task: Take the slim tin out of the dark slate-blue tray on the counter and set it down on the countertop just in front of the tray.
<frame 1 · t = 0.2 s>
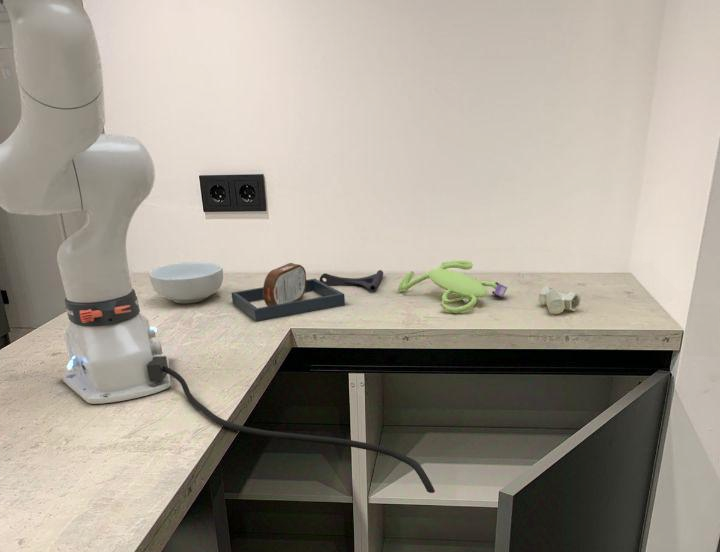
hand: (35, 76, 135), 48 cm above the counter, tool pointing down, fingers open, 8 cm apart
tray: (287, 304, 167), on the counter
tin: (287, 304, 167), resting in tray
cereal bowl: (190, 300, 175), on the counter
bracket: (350, 285, 180), on the counter
pipe fitting: (553, 310, 153), on the counter
figurine: (452, 296, 167), on the counter
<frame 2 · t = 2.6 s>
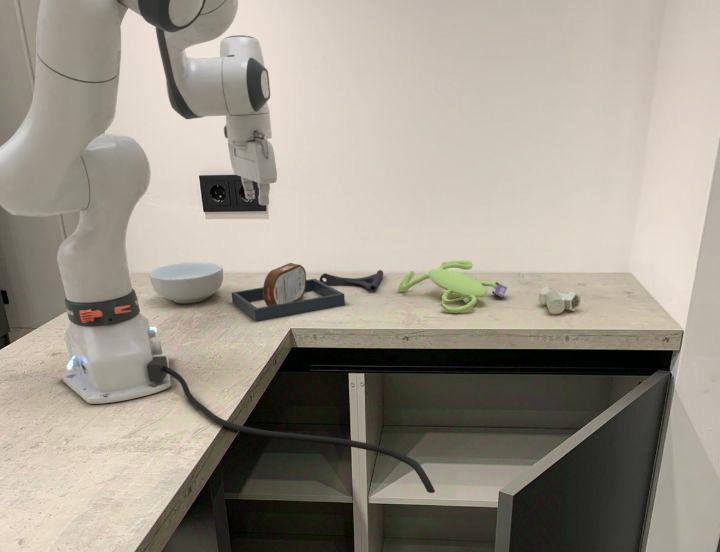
hand: (257, 202, 155), 22 cm above the counter, tool pointing down, fingers open, 8 cm apart
nothing on the counter moved.
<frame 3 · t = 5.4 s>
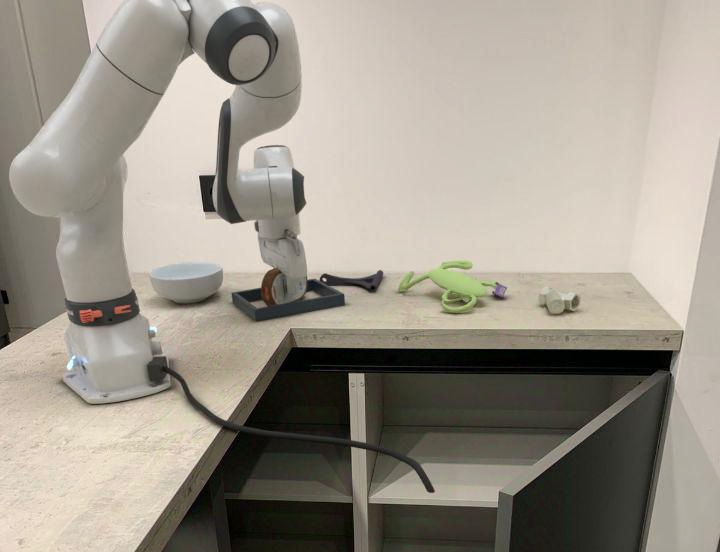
hand: (286, 290, 166), 3 cm above the counter, tool pointing down, fingers closed on tin, 4 cm apart
tin: (288, 304, 167), resting in tray, touching gripper
everything else where it was.
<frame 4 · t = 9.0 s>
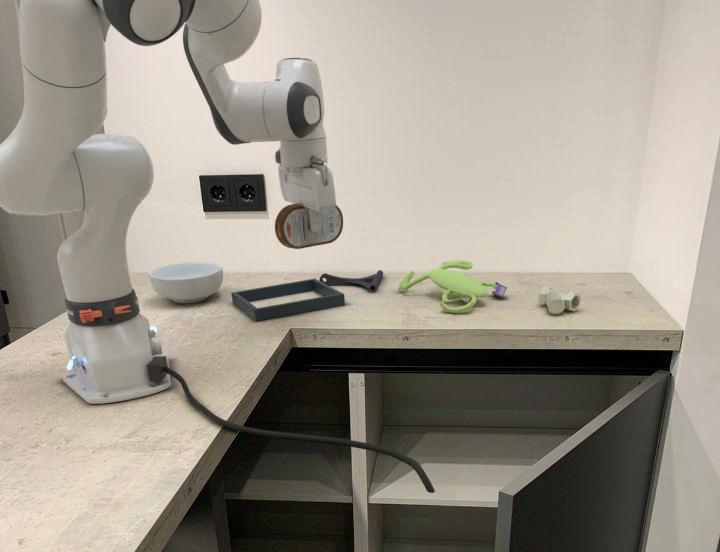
hand: (310, 229, 148), 18 cm above the counter, tool pointing down, fingers closed on tin, 3 cm apart
tin: (312, 247, 149), point 15 cm above the counter, touching gripper
everything else where it was.
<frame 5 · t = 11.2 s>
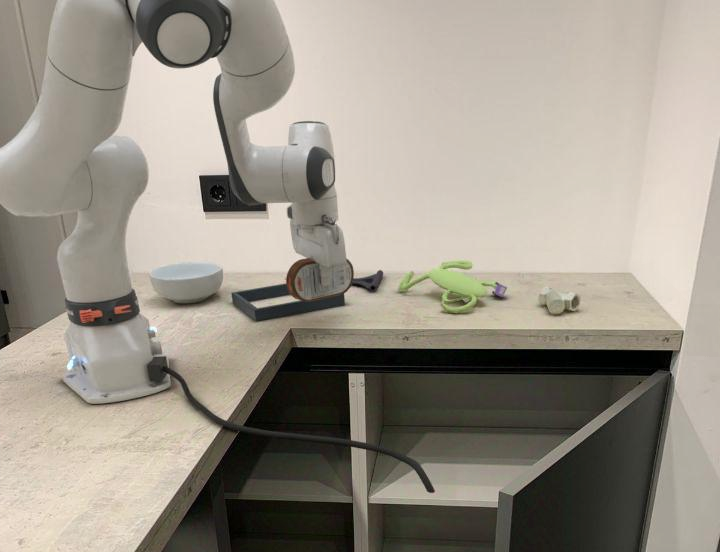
hand: (321, 282, 151), 8 cm above the counter, tool pointing down, fingers closed on tin, 3 cm apart
tin: (323, 299, 152), point 5 cm above the counter, touching gripper
everything else where it was.
when the fingers open (3 cm above the counter, at t = 12.6 s): tin stays where it is, on the counter.
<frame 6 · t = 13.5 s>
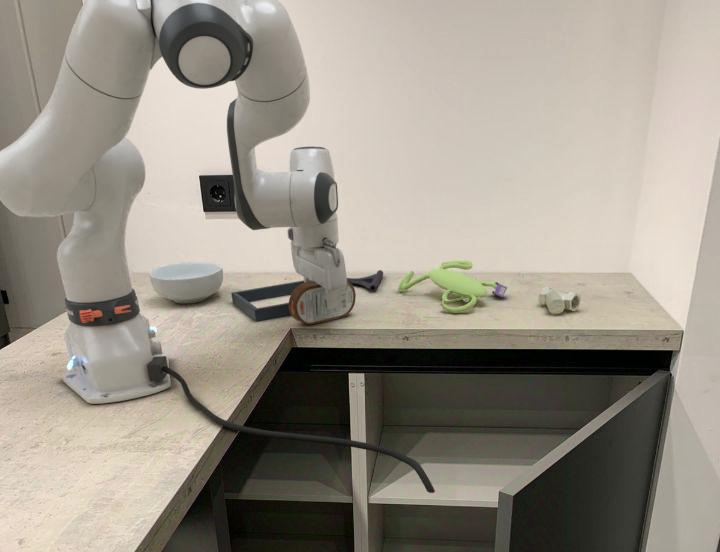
hand: (321, 302, 153), 4 cm above the counter, tool pointing down, fingers open, 8 cm apart
tin: (325, 321, 155), on the counter
everything else where it was.
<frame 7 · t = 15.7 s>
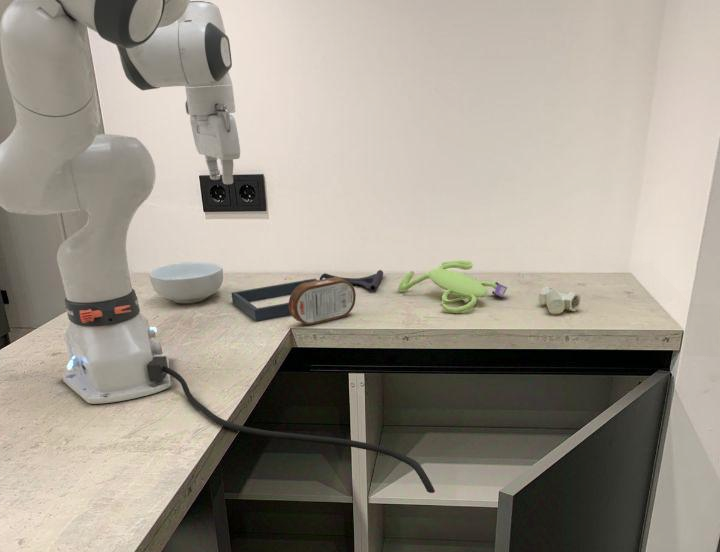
hand: (221, 181, 146), 28 cm above the counter, tool pointing down, fingers open, 8 cm apart
nothing on the counter moved.
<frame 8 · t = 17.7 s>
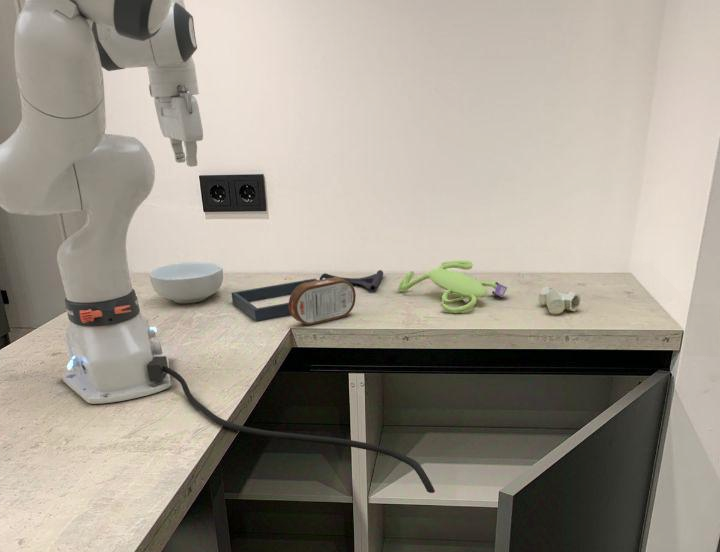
hand: (186, 164, 146), 31 cm above the counter, tool pointing down, fingers open, 8 cm apart
nothing on the counter moved.
at the end: tin inside the target area (0.6 cm from its centre), on the counter; the gripper is holding nothing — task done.
